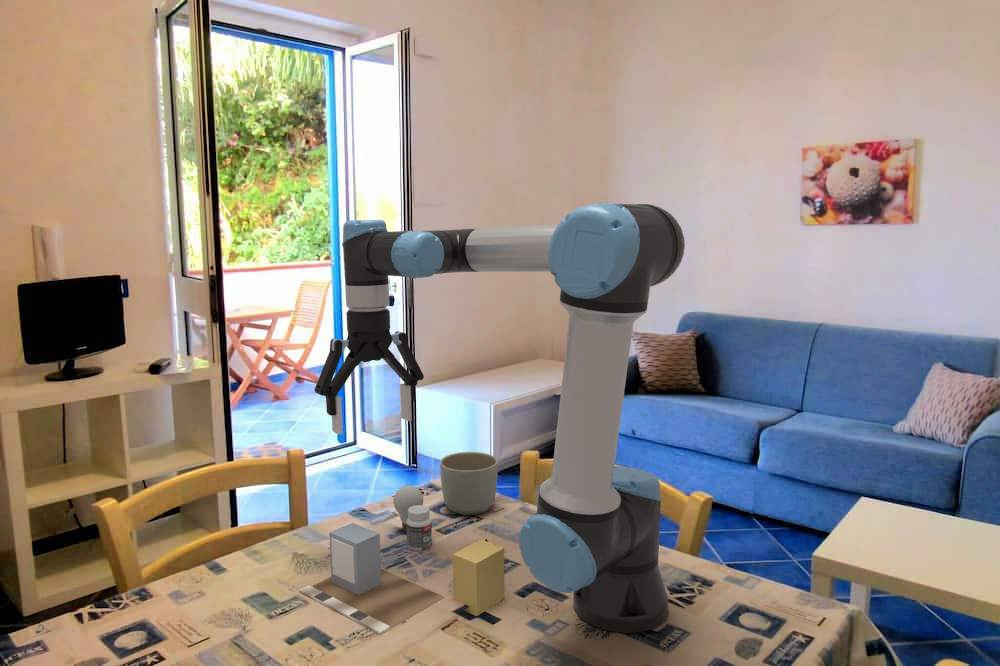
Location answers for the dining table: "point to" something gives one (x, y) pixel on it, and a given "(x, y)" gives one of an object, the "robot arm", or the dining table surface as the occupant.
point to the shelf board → (375, 601)
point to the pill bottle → (419, 528)
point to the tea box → (479, 576)
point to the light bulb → (406, 501)
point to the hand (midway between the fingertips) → (373, 425)
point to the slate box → (355, 558)
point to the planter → (469, 481)
